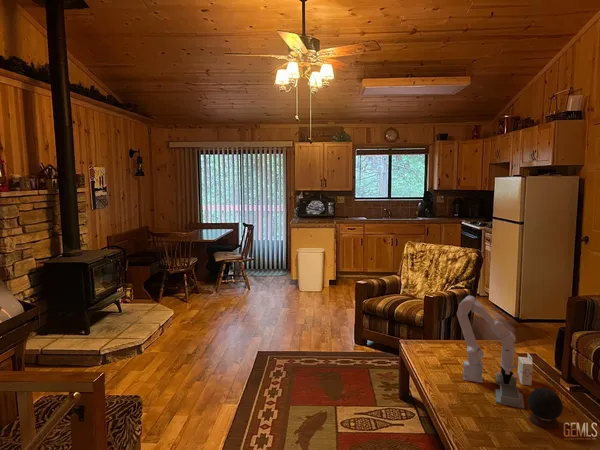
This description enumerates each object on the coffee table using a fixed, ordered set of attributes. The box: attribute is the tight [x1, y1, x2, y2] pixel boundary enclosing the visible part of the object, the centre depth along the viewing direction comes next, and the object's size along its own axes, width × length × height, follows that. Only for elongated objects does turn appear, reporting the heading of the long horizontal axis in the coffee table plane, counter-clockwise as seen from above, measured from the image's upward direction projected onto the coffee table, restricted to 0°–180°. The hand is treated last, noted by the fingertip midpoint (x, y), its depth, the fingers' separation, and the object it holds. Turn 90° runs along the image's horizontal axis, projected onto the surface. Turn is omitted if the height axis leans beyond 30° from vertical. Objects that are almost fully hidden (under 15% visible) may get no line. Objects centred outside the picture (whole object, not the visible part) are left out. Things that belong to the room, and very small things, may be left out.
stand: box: [494, 384, 525, 409], centre depth 205 cm, size 12×13×4 cm
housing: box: [495, 370, 518, 387], centre depth 217 cm, size 9×4×6 cm, turn 66°
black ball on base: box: [527, 387, 564, 431], centre depth 186 cm, size 13×13×15 cm
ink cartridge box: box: [516, 352, 534, 386], centre depth 222 cm, size 9×5×15 cm, turn 168°
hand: (506, 381), depth 217 cm, fingers closed on housing, 4 cm apart
